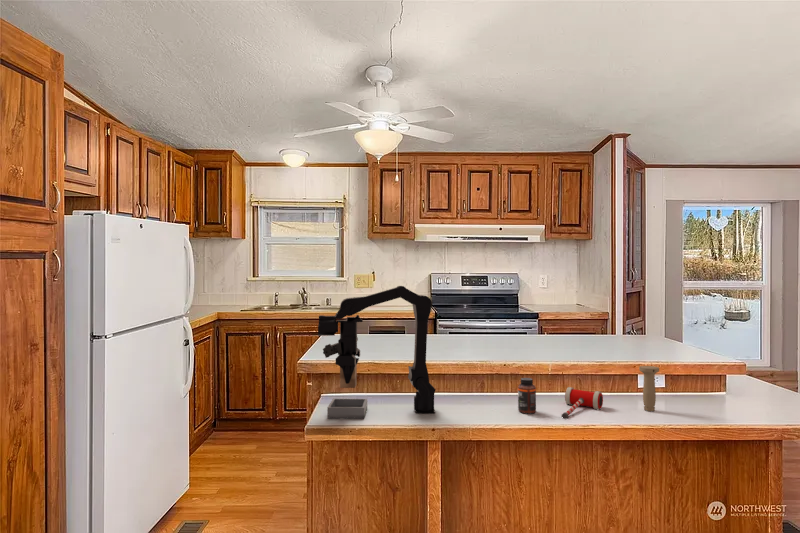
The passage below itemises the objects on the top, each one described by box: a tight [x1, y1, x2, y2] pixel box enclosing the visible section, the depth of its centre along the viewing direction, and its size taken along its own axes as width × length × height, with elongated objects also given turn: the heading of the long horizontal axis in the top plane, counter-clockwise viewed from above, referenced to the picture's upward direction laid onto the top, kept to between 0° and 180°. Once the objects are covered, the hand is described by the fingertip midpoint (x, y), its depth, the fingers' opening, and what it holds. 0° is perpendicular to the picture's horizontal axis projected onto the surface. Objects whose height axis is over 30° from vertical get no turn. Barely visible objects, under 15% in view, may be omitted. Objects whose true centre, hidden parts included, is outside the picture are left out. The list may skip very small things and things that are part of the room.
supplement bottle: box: [517, 377, 537, 415], centre depth 170 cm, size 6×6×11 cm
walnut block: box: [339, 363, 358, 389], centre depth 167 cm, size 5×5×7 cm
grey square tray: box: [326, 397, 368, 420], centre depth 167 cm, size 12×12×4 cm
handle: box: [638, 365, 660, 412], centre depth 172 cm, size 5×6×15 cm
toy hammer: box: [561, 386, 604, 419], centre depth 171 cm, size 23×12×6 cm, turn 142°
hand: (348, 381), depth 167 cm, fingers closed on walnut block, 5 cm apart
